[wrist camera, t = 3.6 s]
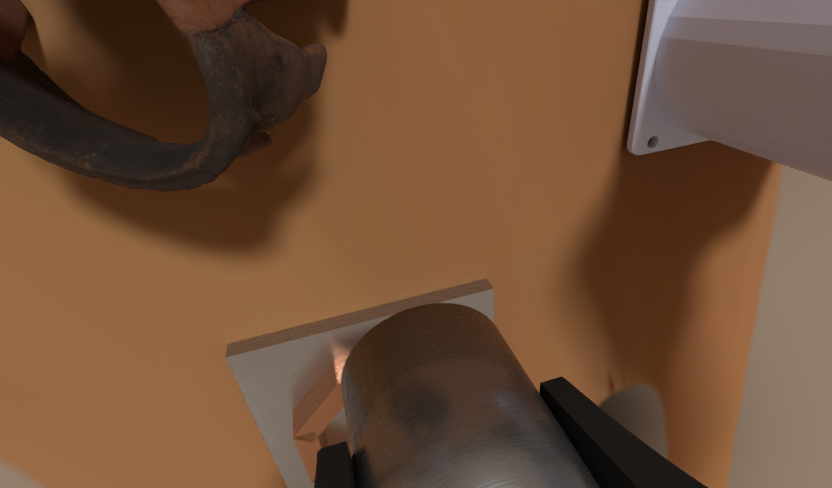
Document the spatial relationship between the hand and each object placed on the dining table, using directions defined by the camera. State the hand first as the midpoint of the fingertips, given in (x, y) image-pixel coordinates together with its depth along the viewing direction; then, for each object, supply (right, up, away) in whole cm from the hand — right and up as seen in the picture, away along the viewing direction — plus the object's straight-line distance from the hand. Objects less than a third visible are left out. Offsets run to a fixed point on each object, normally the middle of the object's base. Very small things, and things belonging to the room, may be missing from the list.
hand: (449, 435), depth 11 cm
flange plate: (-3, -3, +12) cm, 12 cm away
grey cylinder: (-1, +1, +2) cm, 2 cm away
